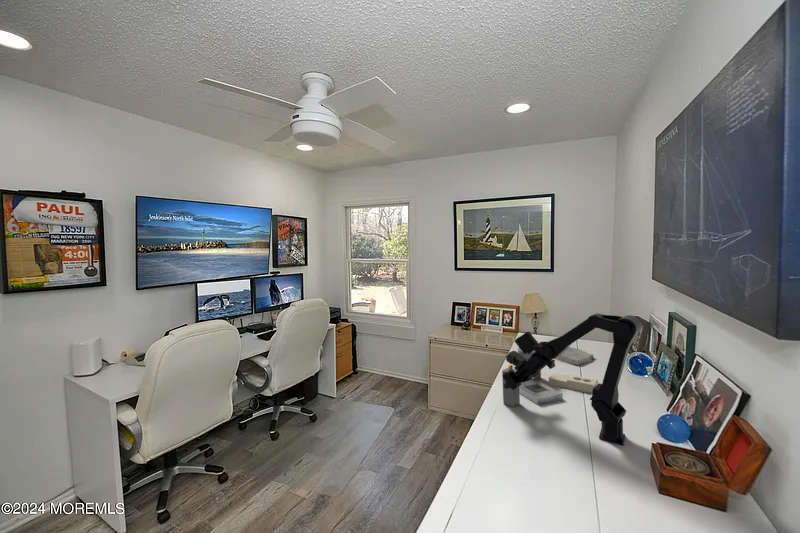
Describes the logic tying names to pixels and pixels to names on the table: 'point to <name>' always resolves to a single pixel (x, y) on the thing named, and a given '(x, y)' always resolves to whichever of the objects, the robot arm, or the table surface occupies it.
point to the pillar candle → (526, 358)
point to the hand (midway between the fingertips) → (507, 385)
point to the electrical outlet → (573, 382)
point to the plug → (510, 391)
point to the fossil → (575, 356)
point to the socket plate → (539, 392)
